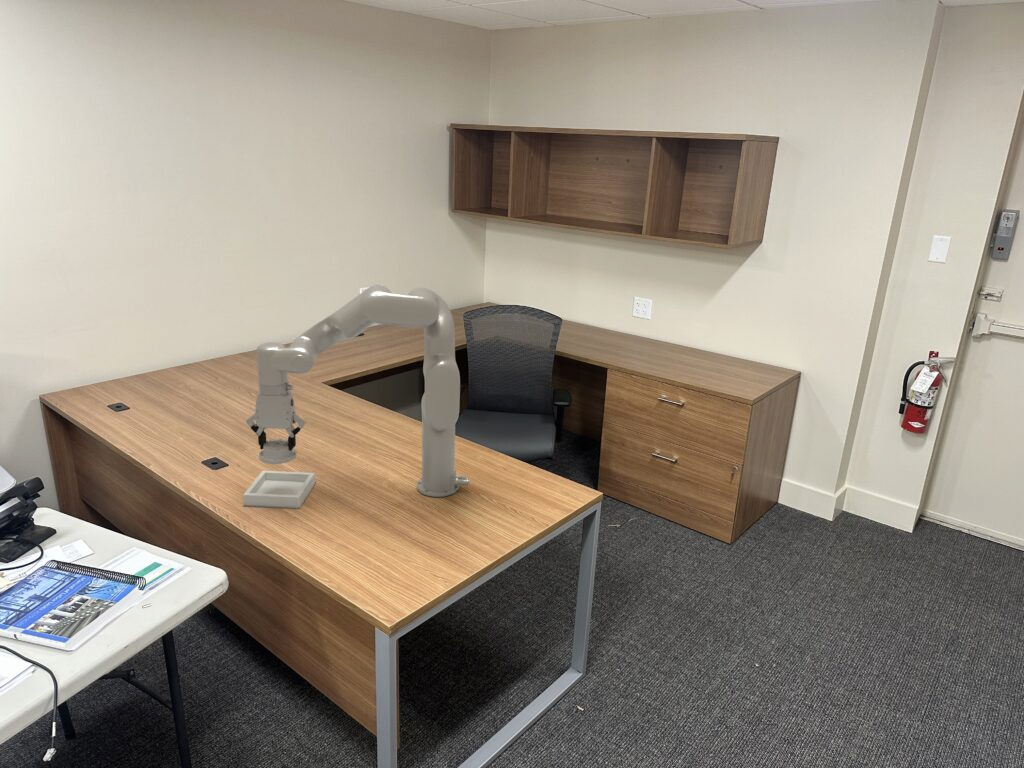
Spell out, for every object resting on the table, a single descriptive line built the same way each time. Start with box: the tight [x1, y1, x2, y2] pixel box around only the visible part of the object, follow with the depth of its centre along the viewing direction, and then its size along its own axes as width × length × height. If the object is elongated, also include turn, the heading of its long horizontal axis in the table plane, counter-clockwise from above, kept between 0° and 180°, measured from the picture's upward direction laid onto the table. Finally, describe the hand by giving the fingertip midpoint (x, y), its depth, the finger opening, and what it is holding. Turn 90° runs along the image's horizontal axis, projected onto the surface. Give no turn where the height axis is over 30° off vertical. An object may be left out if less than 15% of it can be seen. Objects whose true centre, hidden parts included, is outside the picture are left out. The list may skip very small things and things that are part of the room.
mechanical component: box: [258, 438, 298, 465], centre depth 200 cm, size 10×4×10 cm
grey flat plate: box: [242, 481, 317, 510], centre depth 205 cm, size 16×17×1 cm
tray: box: [242, 470, 316, 509], centre depth 204 cm, size 15×15×3 cm
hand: (277, 447), depth 200 cm, fingers closed on mechanical component, 7 cm apart
